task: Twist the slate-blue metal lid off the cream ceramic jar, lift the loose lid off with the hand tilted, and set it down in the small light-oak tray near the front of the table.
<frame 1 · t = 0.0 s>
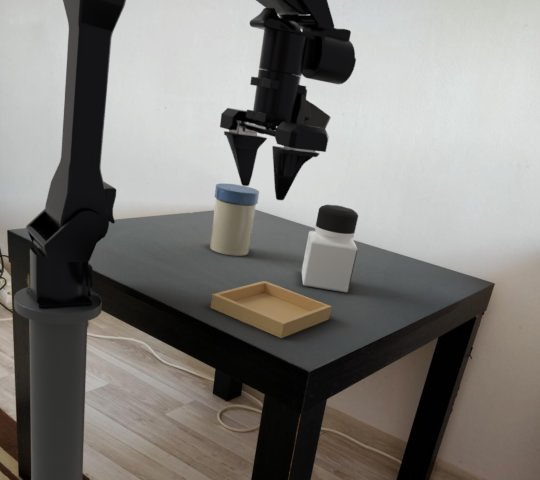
hand: (261, 192, 84), 13 cm above the table, tool pointing down, fingers open, 9 cm apart
medicine bottle: (323, 284, 93), on the table
jar lid: (237, 190, 97), point 10 cm above the table, screwed on, not yet turned
tray: (270, 313, 76), on the table
jar: (229, 250, 101), on the table
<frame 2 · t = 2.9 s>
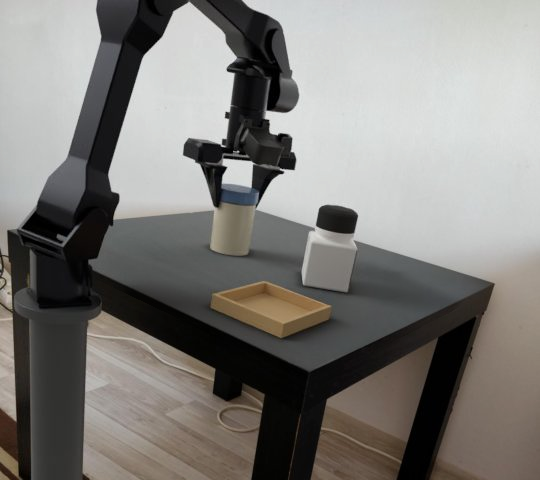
hand: (234, 207, 98), 7 cm above the table, tool pointing down, fingers closed on jar lid, 7 cm apart
jar lid: (237, 190, 97), point 10 cm above the table, screwed on, not yet turned, touching gripper
everything else where it was.
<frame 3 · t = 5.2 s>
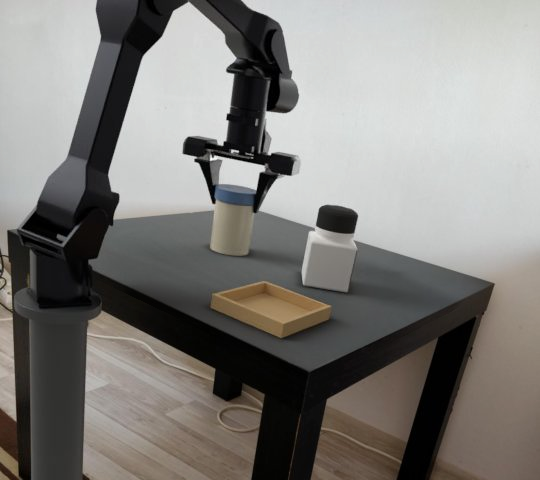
hand: (234, 208, 98), 7 cm above the table, tool pointing down, fingers closed on jar lid, 7 cm apart
jar lid: (237, 191, 97), point 10 cm above the table, off its thread, touching gripper, jar
jar: (229, 250, 101), on the table, touching jar lid
everything else where it was.
when the fingers open (7 cm above the table, at t = 5.7 s): jar lid stays where it is, resting on jar.
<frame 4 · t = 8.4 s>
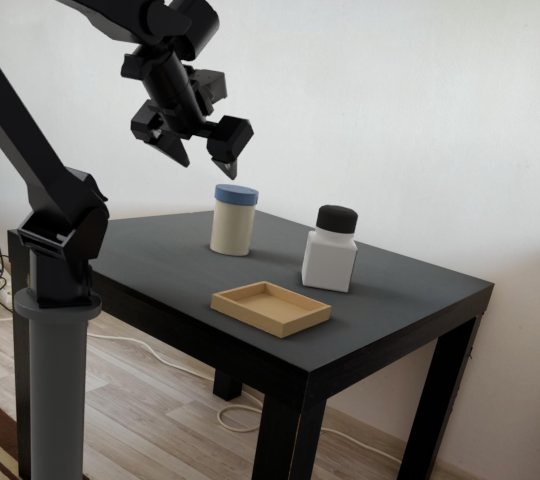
hand: (210, 171, 90), 13 cm above the table, tool tilted 45°, fingers open, 9 cm apart
jar lid: (237, 191, 97), point 10 cm above the table, off its thread, touching jar
everything else where it was.
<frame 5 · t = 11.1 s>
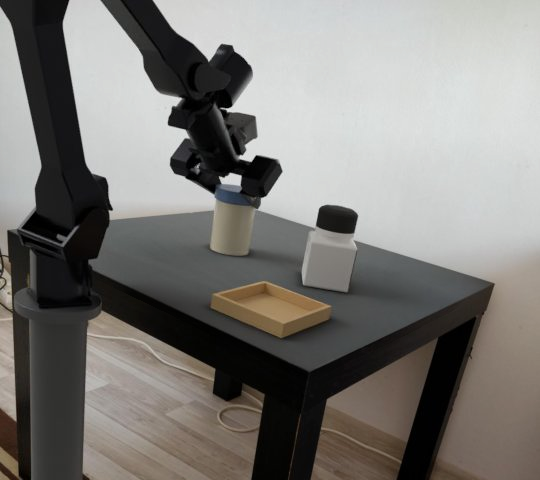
hand: (240, 202, 99), 8 cm above the table, tool tilted 45°, fingers closed on jar lid, 7 cm apart
jar lid: (237, 191, 97), point 10 cm above the table, off its thread, touching gripper, jar
everything else where it was.
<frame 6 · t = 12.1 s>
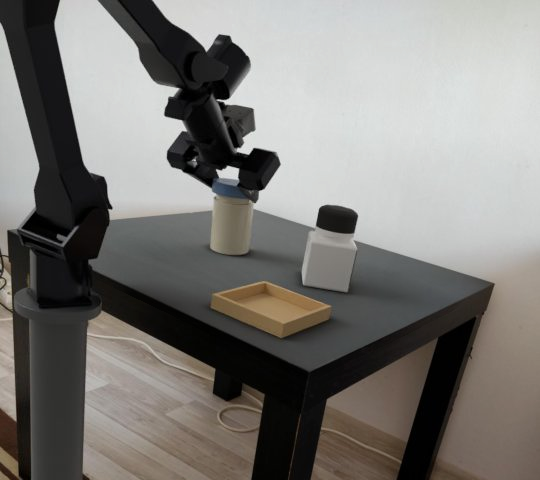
hand: (238, 196, 98), 9 cm above the table, tool tilted 45°, fingers closed on jar lid, 7 cm apart
jar lid: (234, 185, 96), point 11 cm above the table, off its thread, touching gripper, jar
everything else where it was.
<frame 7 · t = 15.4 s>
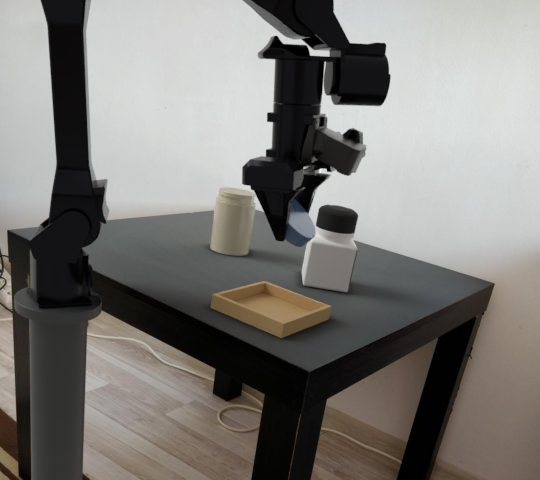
hand: (290, 234, 76), 10 cm above the table, tool pointing down, fingers closed on jar lid, 7 cm apart
jar lid: (294, 216, 75), point 12 cm above the table, tilted 39°, off its thread, touching gripper
jar: (229, 250, 101), on the table
everything else where it was.
when the fingers open (2 cm above the table, at t = 18.9 s): jar lid drops 2 cm, resting on tray.
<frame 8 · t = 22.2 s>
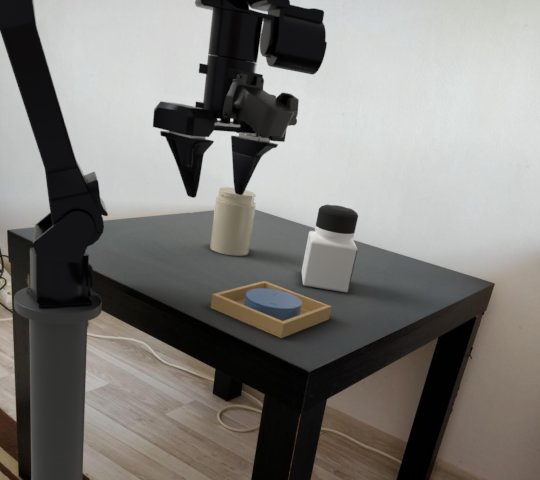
hand: (216, 195, 74), 13 cm above the table, tool pointing down, fingers open, 9 cm apart
jar lid: (273, 300, 75), point 2 cm above the table, off its thread, touching tray
everything else where it was.
at the end: the gripper is holding nothing; jar lid point 1.9 cm above the table; jar lid inside the target area in the tray (0.2 cm from its centre), point 1.9 cm above the tray's base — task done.
